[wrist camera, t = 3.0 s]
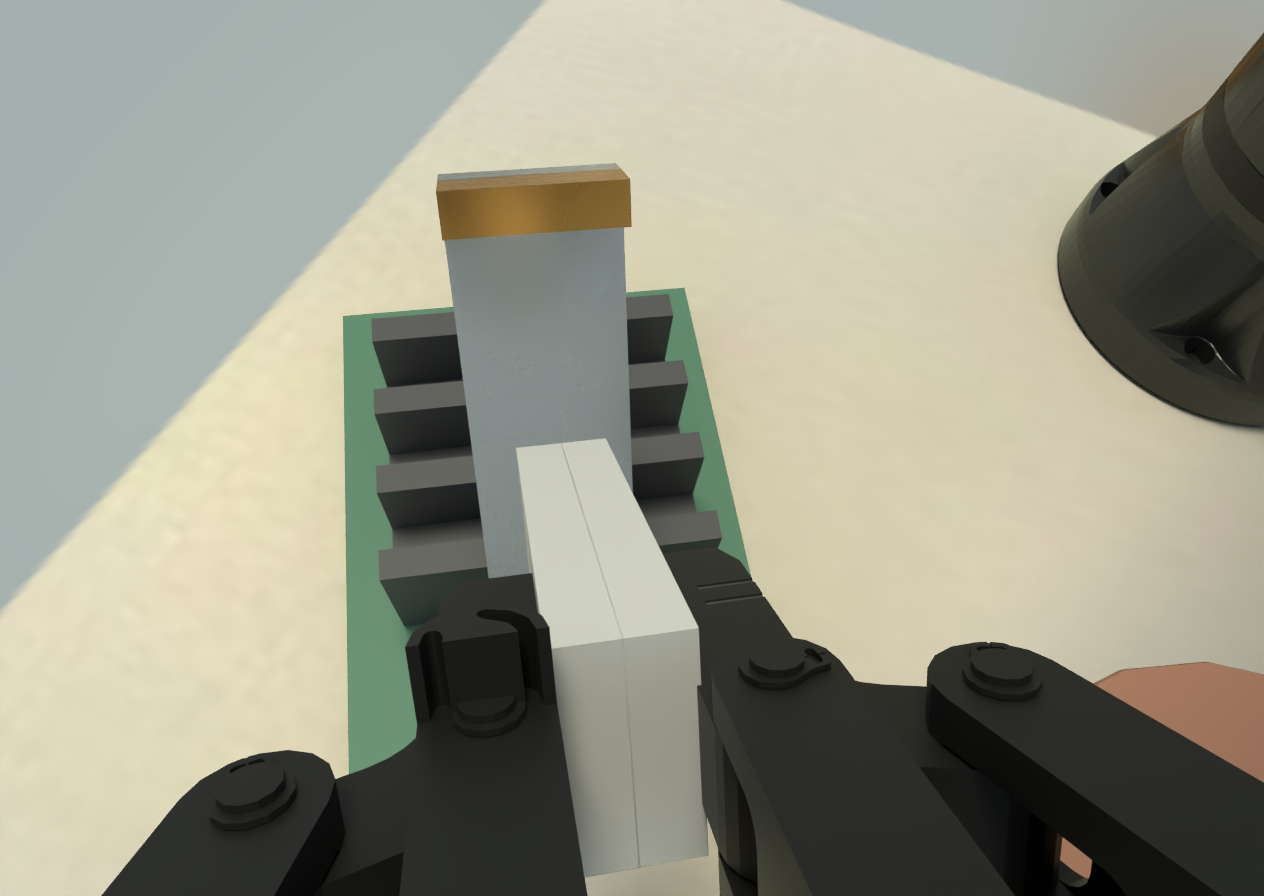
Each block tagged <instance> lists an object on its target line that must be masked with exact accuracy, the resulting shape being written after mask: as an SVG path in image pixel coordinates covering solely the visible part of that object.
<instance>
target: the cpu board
mask: <svg viewBox="0 0 1264 896" xmlns="http://www.w3.org/2000/svg"><path fill="white" fill-rule="evenodd" d="M626 311H627V340H628V369H629V398H630V427H631V455H632V484H633V495H634V497H635V499H636V501H637V503H638V505H639V507H640V509H641V511H642V513H643V515H644V517H645V519H646V521H647V524H648V526H649V528H650V530H651V532H652V534H653V536H654V538H655V540H656V542H657V544H658V546H659V548H660V550H661V552H662V553H670V552H678V551H686V550H694V549H702V548H710V547H716V548H718V549H720V550H722V551H723V552H725V553H727V554H729V555H731V556H733V557H735V558H736V559H738V560H740V561H741V563H742V564H743V566H744V567H745V569H746V570H747V571H748V573H749V574H750V570H749V566H748V562H747V557H746V553H745V549H744V544H743V540H742V536H741V531H740V527H739V523H738V518H737V514H736V510H735V505H734V501H733V497H732V492H731V488H730V484H729V479H728V475H727V471H726V466H725V462H724V458H723V453H722V449H721V445H720V440H719V436H718V432H717V427H716V423H715V419H714V415H713V410H712V406H711V402H710V397H709V393H708V389H707V384H706V380H705V376H704V371H703V367H702V363H701V358H700V354H699V350H698V345H697V341H696V337H695V332H694V328H693V324H692V319H691V315H690V311H689V306H688V302H687V298H686V293H685V289H684V288H677V289H665V290H652V291H640V292H628V293H626ZM343 345H344V423H345V502H346V581H347V660H348V738H349V774H351V773H354V772H357V771H360V770H362V769H365V768H368V767H370V766H372V765H374V764H377V763H379V762H381V761H383V760H386V759H388V758H389V757H391V756H392V755H394V754H396V753H397V752H399V751H400V750H402V749H403V748H405V747H406V746H407V745H408V744H409V743H411V742H412V741H413V740H414V739H415V738H416V730H417V721H416V715H415V708H414V702H413V696H412V689H411V683H410V677H409V670H408V664H407V658H406V651H405V646H406V644H407V642H408V640H409V638H410V636H411V634H412V633H413V632H414V631H415V630H417V629H418V628H419V627H420V626H422V625H423V624H424V623H426V622H427V621H428V620H430V619H432V618H435V617H437V616H439V608H440V602H441V601H442V600H443V598H444V597H445V596H446V595H447V594H448V593H449V592H450V590H451V589H452V588H453V587H454V586H455V585H456V584H457V582H465V581H473V580H481V579H489V577H488V569H487V561H486V553H485V546H484V538H483V530H482V523H481V515H480V507H479V499H478V492H477V484H476V476H475V469H474V461H473V453H472V445H471V438H470V430H469V422H468V415H467V407H466V399H465V391H464V384H463V376H462V368H461V361H460V353H459V345H458V337H457V330H456V322H455V314H454V307H448V308H436V309H423V310H411V311H399V312H387V313H375V314H363V315H351V316H343ZM750 576H751V575H750Z"/></svg>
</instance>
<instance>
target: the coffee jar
mask: <svg viewBox="0 0 1264 896" xmlns="http://www.w3.org/2000/svg"><path fill="white" fill-rule="evenodd" d="M1094 685H1096V686H1098V687H1100V688H1101V689H1103V690H1105V691H1106V692H1108V693H1110V694H1112V695H1113V696H1115V697H1117V698H1119V699H1120V700H1122V701H1124V702H1125V703H1127V704H1129V705H1131V706H1132V707H1134V708H1136V709H1138V710H1139V711H1141V712H1143V713H1144V714H1146V715H1148V716H1150V717H1151V718H1153V719H1155V720H1157V721H1158V722H1160V723H1162V724H1164V725H1165V726H1167V727H1169V728H1170V729H1172V730H1174V731H1176V732H1177V733H1179V734H1181V735H1183V736H1184V737H1186V738H1188V739H1189V740H1191V741H1193V742H1195V743H1196V744H1198V745H1200V746H1202V747H1203V748H1205V749H1207V750H1209V751H1210V752H1212V753H1214V754H1215V755H1217V756H1219V757H1221V758H1222V759H1224V760H1226V761H1228V762H1229V763H1231V764H1233V765H1234V766H1236V767H1238V768H1240V769H1241V770H1243V771H1245V772H1247V773H1248V774H1250V775H1252V776H1253V777H1255V778H1257V779H1259V780H1260V781H1262V782H1264V675H1263V674H1258V673H1254V672H1249V671H1245V670H1240V669H1236V668H1232V667H1227V666H1223V665H1218V664H1214V663H1209V662H1198V663H1188V664H1177V665H1166V666H1156V667H1145V668H1135V669H1124V670H1119V671H1117V672H1115V673H1113V674H1111V675H1109V676H1108V677H1106V678H1104V679H1102V680H1100V681H1098V682H1096V683H1094ZM1060 860H1061V861H1062V862H1063V863H1065V864H1066V865H1067V866H1068V867H1070V868H1071V869H1072V870H1073V871H1075V872H1076V873H1078V874H1080V875H1081V876H1083V877H1085V878H1089V876H1090V873H1091V865H1092V860H1091V859H1090V858H1089V857H1087V856H1086V855H1085V854H1084V853H1082V852H1081V851H1080V850H1079V849H1077V848H1076V847H1075V846H1073V845H1072V844H1071V843H1070V842H1068V841H1067V840H1066V839H1065V838H1062V847H1061V856H1060Z"/></svg>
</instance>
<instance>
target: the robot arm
mask: <svg viewBox="0 0 1264 896" xmlns="http://www.w3.org/2000/svg"><path fill="white" fill-rule="evenodd" d="M1058 261H1059V272H1060V278H1061V282H1062V286H1063V290H1064V292H1065V295H1066V298H1067V300H1068V303H1069V305H1070V307H1071V309H1072V311H1073V313H1074V315H1075V317H1076V318H1077V320H1078V321H1079V323H1080V325H1081V326H1082V328H1083V329H1084V330H1085V332H1086V333H1087V335H1088V336H1089V337H1090V338H1091V340H1092V341H1093V342H1094V343H1095V345H1096V346H1097V347H1098V348H1099V349H1100V350H1101V351H1102V352H1103V353H1104V354H1105V355H1106V356H1107V357H1108V358H1109V359H1110V360H1111V361H1112V362H1113V363H1114V364H1115V365H1116V366H1117V367H1119V368H1120V369H1121V370H1122V371H1123V372H1125V373H1126V374H1127V375H1128V376H1130V377H1131V378H1132V379H1134V380H1135V381H1137V382H1138V383H1139V384H1141V385H1142V386H1144V387H1145V388H1147V389H1149V390H1150V391H1152V392H1153V393H1155V394H1157V395H1159V396H1160V397H1162V398H1164V399H1166V400H1168V401H1170V402H1172V403H1174V404H1176V405H1178V406H1181V407H1183V408H1185V409H1187V410H1190V411H1193V412H1195V413H1198V414H1201V415H1204V416H1207V417H1211V418H1214V419H1218V420H1222V421H1226V422H1232V423H1237V424H1245V425H1256V426H1264V33H1263V34H1262V35H1261V37H1260V38H1259V39H1258V40H1257V42H1256V43H1255V44H1254V45H1253V46H1252V48H1251V49H1250V50H1249V51H1248V53H1247V54H1246V55H1245V56H1244V57H1243V59H1242V60H1241V61H1240V62H1239V63H1238V65H1237V66H1236V67H1235V68H1234V70H1233V71H1232V73H1231V74H1230V75H1229V77H1228V78H1227V79H1226V80H1225V81H1224V83H1223V84H1222V85H1221V86H1220V88H1219V89H1218V90H1217V91H1216V93H1215V94H1214V95H1213V96H1212V98H1211V99H1210V100H1209V101H1208V102H1207V104H1205V105H1204V106H1203V107H1202V108H1201V109H1200V110H1198V111H1196V112H1195V113H1194V114H1192V115H1191V116H1189V117H1188V118H1186V119H1185V120H1183V121H1182V122H1180V123H1179V124H1178V125H1176V126H1175V127H1173V128H1172V129H1170V130H1169V131H1167V132H1166V133H1164V134H1163V135H1161V136H1160V137H1159V138H1157V139H1156V140H1154V141H1153V142H1151V143H1150V144H1148V145H1147V146H1145V147H1144V148H1142V149H1141V150H1140V151H1138V152H1137V153H1135V154H1134V155H1132V156H1131V157H1129V158H1128V159H1126V160H1125V161H1124V162H1122V163H1121V164H1119V165H1117V166H1116V167H1115V168H1113V169H1112V170H1111V171H1109V172H1108V173H1107V174H1106V175H1105V176H1104V177H1103V178H1102V179H1100V180H1099V181H1098V182H1097V183H1096V184H1095V186H1094V187H1093V188H1092V189H1091V191H1090V192H1089V193H1088V195H1087V196H1086V197H1085V199H1084V200H1083V201H1082V203H1081V204H1080V205H1079V207H1078V208H1077V209H1076V211H1075V212H1074V213H1073V215H1072V216H1071V218H1070V219H1069V221H1068V223H1067V225H1066V227H1065V229H1064V231H1063V234H1062V237H1061V241H1060V246H1059V258H1058ZM516 453H517V462H518V472H519V481H520V490H521V500H522V509H523V519H524V528H525V537H526V547H527V556H528V566H529V573H528V574H520V575H512V576H504V577H497V578H489V579H481V580H473V581H465V582H457V584H456V585H455V586H454V587H453V588H452V589H451V590H450V592H449V593H448V594H447V595H446V596H445V597H444V598H443V600H442V601H441V602H440V608H439V616H437V617H435V618H432V619H430V620H428V621H427V622H426V623H424V624H423V625H422V626H420V627H419V628H418V629H417V630H415V631H414V632H413V633H412V634H411V636H410V638H409V640H408V642H407V644H406V646H405V651H406V658H407V664H408V670H409V677H410V683H411V689H412V696H413V702H414V708H415V715H416V721H417V730H416V738H415V739H414V740H413V741H412V742H411V743H409V744H408V745H407V746H406V747H405V748H403V749H402V750H400V751H399V752H397V753H396V754H394V755H392V756H391V757H389V758H388V759H386V760H383V761H381V762H379V763H377V764H374V765H372V766H370V767H368V768H365V769H362V770H360V771H357V772H354V773H351V774H349V775H346V776H343V777H340V778H338V779H335V777H334V775H333V772H332V770H331V767H330V764H329V763H327V762H326V761H324V760H323V759H321V758H319V757H318V756H316V755H314V754H313V753H306V752H298V751H291V750H285V751H277V752H269V753H261V754H257V755H253V756H249V757H248V758H245V759H244V758H243V759H240V760H238V761H235V762H233V763H230V764H228V765H226V766H224V767H223V768H221V769H219V770H217V771H216V772H214V773H212V774H210V775H209V776H207V777H205V778H203V779H202V780H200V781H199V782H198V783H197V784H196V785H195V786H194V787H193V788H192V789H190V790H189V791H188V792H187V793H186V794H185V795H184V796H183V797H182V798H181V799H180V800H179V801H178V802H177V803H176V804H175V806H174V807H173V808H172V809H171V811H170V812H169V813H168V814H167V815H166V817H165V818H164V819H163V820H162V822H161V823H160V824H159V825H158V827H157V828H156V829H155V830H154V832H153V833H152V834H151V835H150V836H149V838H148V839H147V840H146V841H145V843H144V844H143V845H142V846H141V848H140V849H139V850H138V851H137V852H136V854H135V855H134V856H133V857H132V859H131V860H130V861H129V862H128V864H127V865H126V866H125V867H124V869H123V870H122V871H121V872H120V873H119V875H118V876H117V877H116V878H115V880H114V881H113V882H112V883H111V885H110V886H109V887H108V888H107V889H106V891H105V892H104V893H103V894H102V896H587V891H586V884H585V878H584V877H589V876H595V875H600V874H606V873H612V872H617V871H623V870H629V869H634V868H640V867H645V866H651V865H657V864H662V863H668V862H674V861H679V860H685V859H691V858H696V857H702V856H707V855H708V832H707V818H708V821H709V824H710V827H711V829H712V832H713V835H714V838H715V841H716V843H717V846H718V857H719V883H720V896H1264V782H1262V781H1260V780H1259V779H1257V778H1255V777H1253V776H1252V775H1250V774H1248V773H1247V772H1245V771H1243V770H1241V769H1240V768H1238V767H1236V766H1234V765H1233V764H1231V763H1229V762H1228V761H1226V760H1224V759H1222V758H1221V757H1219V756H1217V755H1215V754H1214V753H1212V752H1210V751H1209V750H1207V749H1205V748H1203V747H1202V746H1200V745H1198V744H1196V743H1195V742H1193V741H1191V740H1189V739H1188V738H1186V737H1184V736H1183V735H1181V734H1179V733H1177V732H1176V731H1174V730H1172V729H1170V728H1169V727H1167V726H1165V725H1164V724H1162V723H1160V722H1158V721H1157V720H1155V719H1153V718H1151V717H1150V716H1148V715H1146V714H1144V713H1143V712H1141V711H1139V710H1138V709H1136V708H1134V707H1132V706H1131V705H1129V704H1127V703H1125V702H1124V701H1122V700H1120V699H1119V698H1117V697H1115V696H1113V695H1112V694H1110V693H1108V692H1106V691H1105V690H1103V689H1101V688H1100V687H1098V686H1096V685H1094V684H1093V683H1091V682H1089V681H1087V680H1086V679H1084V678H1082V677H1080V676H1079V675H1077V674H1075V673H1074V672H1072V671H1070V670H1068V669H1067V668H1065V667H1063V666H1061V665H1060V664H1058V663H1056V662H1055V661H1053V660H1051V659H1048V658H1046V657H1044V656H1041V655H1039V654H1037V653H1034V652H1032V651H1030V650H1027V649H1022V648H1018V647H1013V646H1009V645H1007V644H1004V643H995V642H990V643H987V642H975V643H970V644H964V645H959V646H953V647H950V648H948V649H946V650H944V651H942V652H941V653H939V654H937V655H935V656H934V658H933V660H932V661H931V663H930V665H929V667H928V671H927V687H922V686H901V685H881V684H872V683H864V682H858V681H855V680H854V678H853V677H852V676H851V674H850V673H849V672H848V670H847V669H846V668H845V666H844V665H843V664H842V662H841V661H840V660H839V659H838V658H837V657H835V656H834V655H833V654H832V653H831V652H830V651H828V650H827V649H826V648H824V647H821V646H819V645H816V644H814V643H811V642H809V641H806V640H802V639H796V638H793V637H792V636H791V634H790V633H789V631H788V630H787V629H786V627H785V626H784V624H783V623H782V621H781V620H780V618H779V617H778V615H777V614H776V612H775V611H774V610H773V608H772V607H771V605H770V604H769V602H768V601H767V599H766V598H765V597H763V596H762V592H761V591H760V589H759V588H758V586H757V585H756V583H755V582H753V581H752V577H751V576H750V574H749V573H748V571H747V570H746V569H745V567H744V566H743V564H742V563H741V561H740V560H738V559H736V558H735V557H733V556H731V555H729V554H727V553H725V552H723V551H722V550H720V549H718V548H716V547H710V548H702V549H694V550H686V551H678V552H670V553H662V552H661V550H660V548H659V546H658V544H657V542H656V540H655V538H654V536H653V534H652V532H651V530H650V528H649V526H648V524H647V521H646V519H645V517H644V515H643V513H642V511H641V509H640V507H639V505H638V503H637V501H636V499H635V497H634V495H633V493H632V491H631V489H630V487H629V485H628V483H627V481H626V479H625V477H624V475H623V473H622V471H621V468H620V466H619V464H618V462H617V460H616V458H615V456H614V454H613V452H612V450H611V448H610V446H609V444H608V442H607V440H606V438H604V439H595V440H585V441H576V442H567V443H558V444H548V445H539V446H530V447H520V448H516ZM1062 838H1065V839H1066V840H1067V841H1068V842H1070V843H1071V844H1072V845H1073V846H1075V847H1076V848H1077V849H1079V850H1080V851H1081V852H1082V853H1084V854H1085V855H1086V856H1087V857H1089V858H1090V859H1091V860H1092V865H1091V873H1090V876H1089V878H1085V877H1083V876H1081V875H1080V874H1078V873H1076V872H1075V871H1073V870H1072V869H1071V868H1070V867H1068V866H1067V865H1066V864H1065V863H1063V862H1062V861H1061V860H1060V856H1061V847H1062Z"/></svg>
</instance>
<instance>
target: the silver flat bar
mask: <svg viewBox="0 0 1264 896" xmlns="http://www.w3.org/2000/svg"><path fill="white" fill-rule="evenodd" d="M436 195H437V202H438V210H439V218H440V225H441V233H442V240H445V245H446V253H447V260H448V268H449V276H450V283H451V291H452V299H453V307H454V314H455V322H456V330H457V337H458V345H459V353H460V361H461V368H462V376H463V384H464V391H465V399H466V407H467V415H468V422H469V430H470V438H471V445H472V453H473V461H474V469H475V476H476V484H477V492H478V499H479V507H480V515H481V523H482V530H483V538H484V546H485V553H486V561H487V569H488V577H489V578H497V577H504V576H512V575H520V574H528V573H529V566H528V556H527V547H526V537H525V528H524V519H523V509H522V500H521V490H520V481H519V472H518V462H517V453H516V448H520V447H530V446H539V445H548V444H558V443H567V442H576V441H585V440H595V439H604V438H606V440H607V442H608V444H609V446H610V448H611V450H612V452H613V454H614V456H615V458H616V460H617V462H618V464H619V466H620V468H621V471H622V473H623V475H624V477H625V479H626V481H627V483H628V485H629V487H630V489H631V491H632V493H633V484H632V455H631V427H630V398H629V369H628V340H627V311H626V282H625V253H624V227H632V226H631V194H630V178H629V177H628V176H627V175H626V174H625V173H624V172H623V171H622V169H621V168H620V167H619V166H618V165H617V164H616V163H613V164H596V165H580V166H564V167H548V168H532V169H516V170H500V171H484V172H468V173H452V174H438V179H437V188H436Z"/></svg>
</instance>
